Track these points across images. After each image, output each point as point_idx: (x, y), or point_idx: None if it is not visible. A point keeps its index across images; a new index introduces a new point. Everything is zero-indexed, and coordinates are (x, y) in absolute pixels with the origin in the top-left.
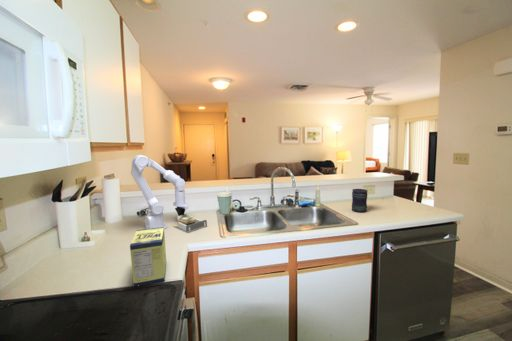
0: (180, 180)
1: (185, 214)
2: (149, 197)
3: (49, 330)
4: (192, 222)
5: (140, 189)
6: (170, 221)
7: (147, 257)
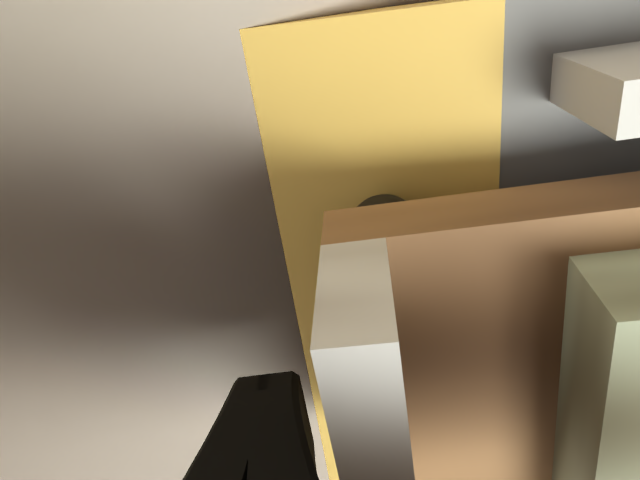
0: None
1: (402, 453)
2: None
3: None
4: (621, 158)
5: None
6: (5, 440)
7: None
